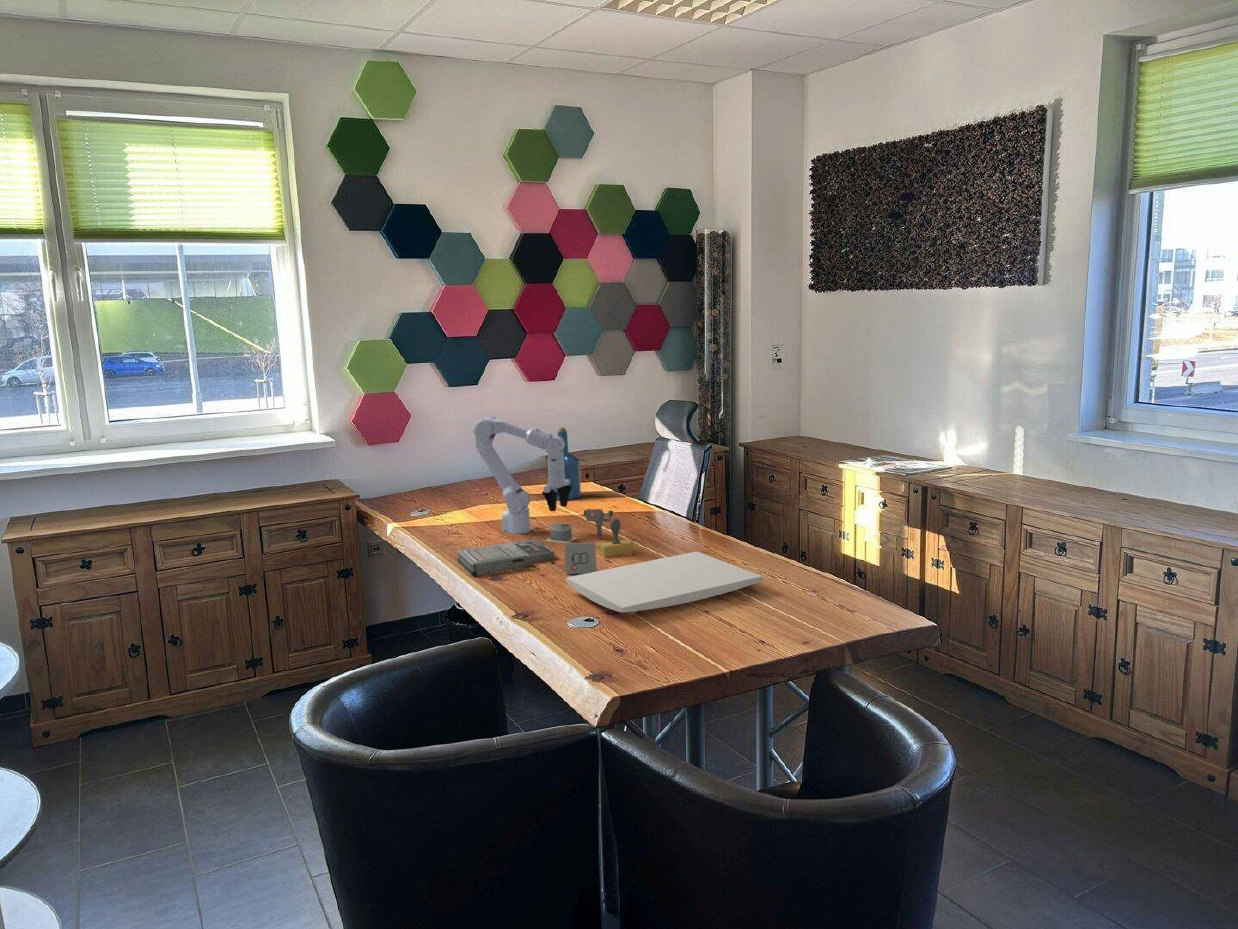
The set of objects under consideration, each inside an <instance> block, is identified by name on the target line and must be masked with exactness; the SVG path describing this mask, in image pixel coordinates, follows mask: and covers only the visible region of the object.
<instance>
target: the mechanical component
mask: <svg viewBox="0 0 1238 929" xmlns="http://www.w3.org/2000/svg"><path fill="white" fill-rule="evenodd" d="M583 515H584V516H585V520H586V521H587V522H595V524H594V525H595V527H596V534H597V535H598V536H599V535H600V536H602V535H603V534H602V533H603V532H602V526H603V523H606V522H610V521H611V520H612V517H613V516H614V510H611V509H609V510H608V511H607V513H605V512H604V510H603V509H602V508H601V509H600V508H597V509H596V508H594V509H593V508H590V509H589V508H588V509H587V508H586V510H583ZM592 515H593V516H592ZM604 517H605V518H604ZM606 517H608V518H606Z"/></svg>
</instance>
